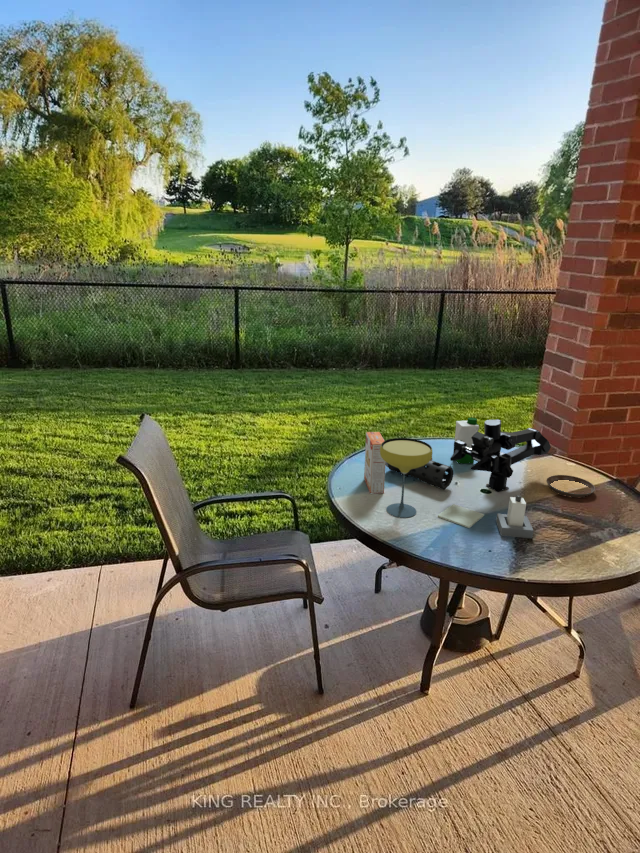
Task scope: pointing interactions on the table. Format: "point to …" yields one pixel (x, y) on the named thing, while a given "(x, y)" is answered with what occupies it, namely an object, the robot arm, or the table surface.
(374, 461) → the cracker box
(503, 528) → the socket collar
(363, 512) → the table surface
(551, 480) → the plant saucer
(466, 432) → the milk carton
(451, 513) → the rubber mat
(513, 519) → the plug
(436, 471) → the muzzle brake
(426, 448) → the cocktail glass
